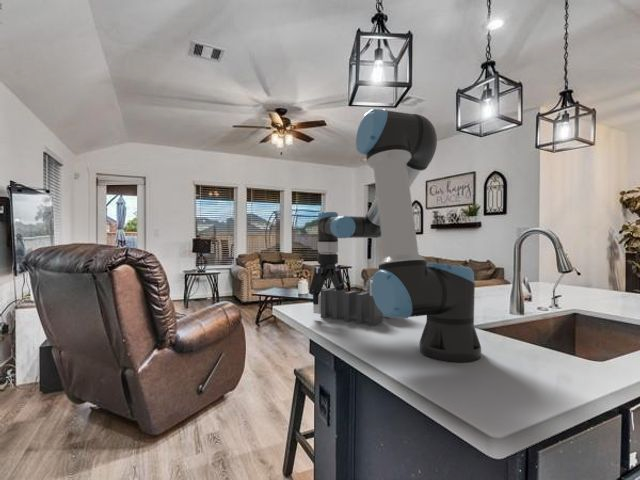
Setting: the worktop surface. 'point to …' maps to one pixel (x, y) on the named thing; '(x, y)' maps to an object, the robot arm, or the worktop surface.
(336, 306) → the domino
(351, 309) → the domino
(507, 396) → the worktop surface
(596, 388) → the worktop surface
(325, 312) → the domino
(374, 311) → the domino
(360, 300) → the domino
